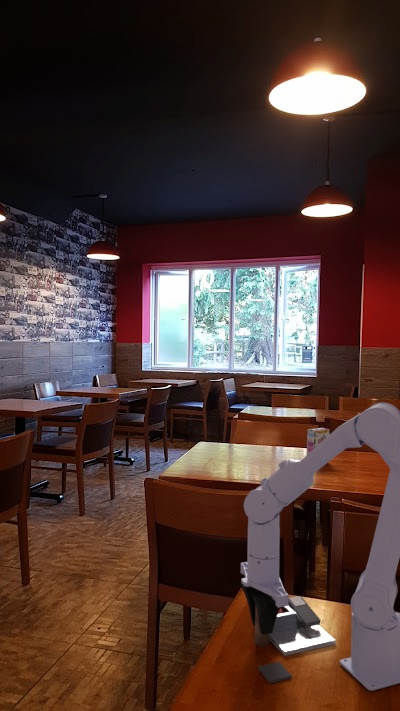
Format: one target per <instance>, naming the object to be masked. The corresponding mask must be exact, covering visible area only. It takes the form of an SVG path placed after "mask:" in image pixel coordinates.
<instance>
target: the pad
mask: <svg viewBox="0 0 400 711" xmlns="http://www.w3.org/2000/svg"><path fill="white" fill-rule="evenodd" d="M257 670H258V671H259V672H260V673H261V675H262V676H263V677H264V678H265V679H266V681H267V682H268V683H269V684H275V683H278V682H282V681H286V680H291V679H292V678H293V675H292V674H291V673H290V672H289V671H288V669H287V668H285V666H284V665H283V664H282V663H281V661H277V662H273V663H269V664H268V663H267V664H263V665H259V666H257Z"/></svg>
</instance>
